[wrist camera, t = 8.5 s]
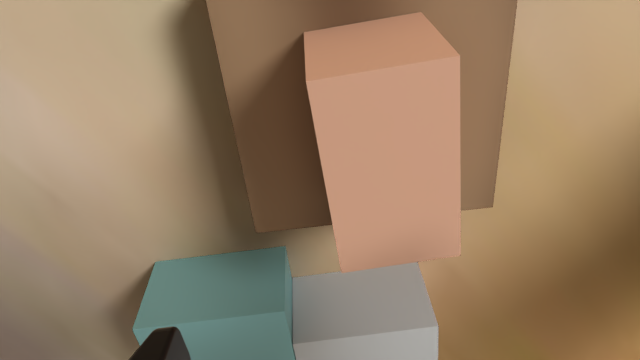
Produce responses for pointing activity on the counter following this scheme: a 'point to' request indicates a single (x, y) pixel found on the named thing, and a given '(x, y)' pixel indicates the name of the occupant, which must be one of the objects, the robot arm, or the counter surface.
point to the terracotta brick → (388, 139)
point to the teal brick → (223, 305)
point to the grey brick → (364, 315)
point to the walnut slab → (294, 106)
